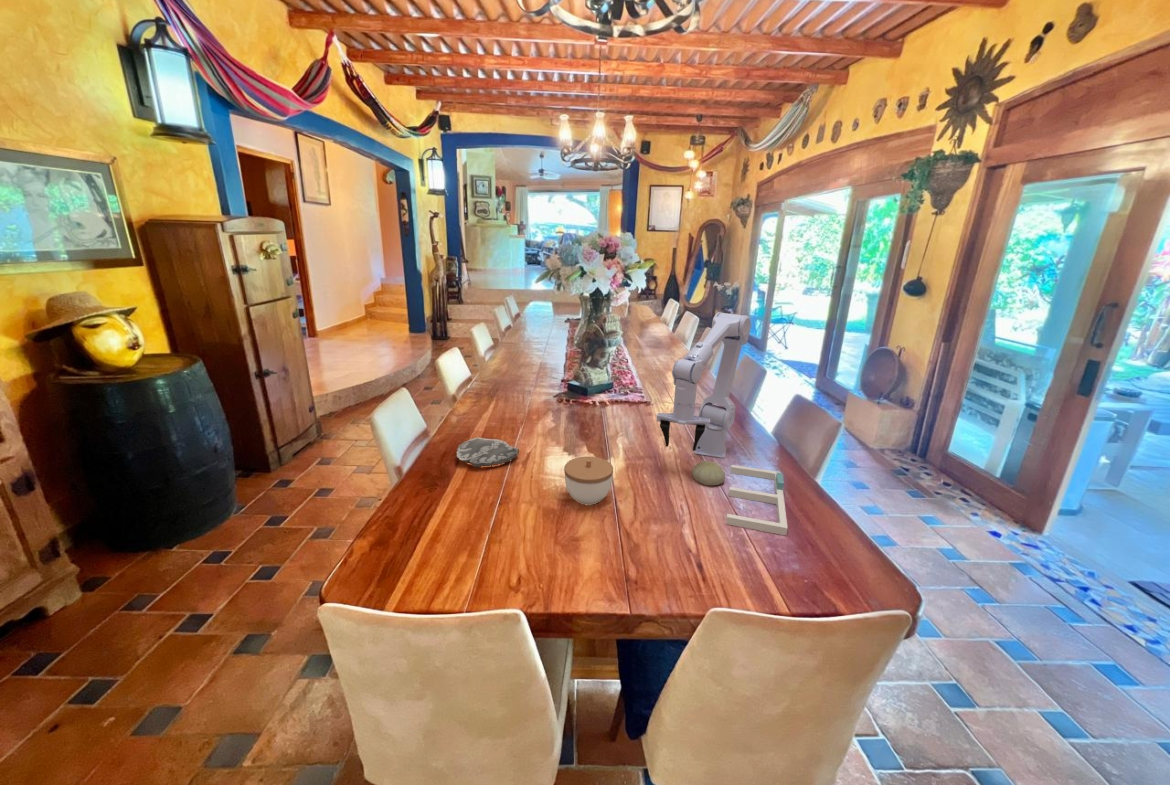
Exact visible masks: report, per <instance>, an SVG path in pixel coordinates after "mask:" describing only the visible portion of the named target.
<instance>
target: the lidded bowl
mask: <svg viewBox="0 0 1170 785" xmlns="http://www.w3.org/2000/svg"><path fill="white" fill-rule="evenodd" d="M563 472H564V482H565V486H566V487H565V488H566V490H567V492H568V494H569V495H570V496H571V498H572V499H573V500H575V501H576V500H577V501H578V502H580V503H581V504H580V505H582V504H587V505H586V506H592V505H591V504H595V505H597V504H596V503H598V502H599V503H601V501H602V500H604V499H605V498H606V497H607V495H608V494H609V492H610V490H611V487H612V485H613V484H612V482H613V475H614V474H613V473H614V466H613V464H612V463H611V462H609V461H608V460H606V459H604V458H601V457H597V456H580V457H575V458H573V459H571V460H569V461H567V462H566V463H565V465H564V469H563ZM578 502H577V503H578ZM599 503H598V504H599Z"/></svg>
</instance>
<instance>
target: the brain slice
mask: <svg viewBox="0 0 1170 785" xmlns="http://www.w3.org/2000/svg"><path fill="white" fill-rule="evenodd" d="M519 454H520V449H519V448H518V447H514V446H511V445H510V444H508V443H507V442H506V441H505V440H501V439H499V438H498V439H497V438H484V437H474V438H471V439H468V440H466V441H463V442H462V443H460V444H458V447H457V448H456V458H458V460H459V461H462V462H464V463H465V462H466V463H465V464H467V463H471V464H472V467H474V466H475V467H474V468H476V467H481V466H490V465H491V466H492V465H498V464H502V463H505V462H506V463H509V462H508V461H510V460H512V459H513V458H514V459H516V457H518V455H519ZM514 459H513V460H514ZM513 460H512V461H513ZM510 462H511V461H510ZM506 463H505V464H506Z"/></svg>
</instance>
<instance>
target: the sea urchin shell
mask: <svg viewBox="0 0 1170 785" xmlns="http://www.w3.org/2000/svg"><path fill="white" fill-rule="evenodd" d="M691 475H692V477H693V479H694V480H695V481H696V482H698V483H700V484H702V485H705V486H718V485H721V484H722V483H723V482H724V481H726V480H725V479H726V473H725V471H724V470H723V468H722V466H721V465H720V464H719V463H717V462H714V461H709V460H703V461H701V462H699V463H697V464H696V465H694V466H693V468H692V471H691Z"/></svg>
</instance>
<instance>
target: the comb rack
mask: <svg viewBox="0 0 1170 785" xmlns="http://www.w3.org/2000/svg"><path fill="white" fill-rule="evenodd" d="M730 474H735V475H741V476H748V477H753V478H758V479H759V478H760V479H765V480H771V481H774V491H775V493H768V492H763V491H757V490H750V489H746V488H738V487H734V486H729V488H728V489H729V490H728V497H732V498H738V499H743V500H748V501H754V502H761V503H767V504H770V505H771V504H772V505H776V509H777V510H776V512H777V522H775V521H769V520H764V519H759V518H754V517H753V518H752V517H747V516H742V515H736V514H731V513H726V522H725V525H728V526H729V525H730V526H733V527H740V528H743V529H750V530H755V531H761V532H764V533H765V532H766V533H770V534H775V535H776V534H777V535H781V536H787V534H788V529H789V528H788V520H787V513H786V504H785V496H784V486H785V481H784V474H783V472H781V471H777V470H776V471H775V470H768V469H761V468H756V467H755V468H754V467H749V466H748V467H747V466H742V465H736V464H731V467H730Z"/></svg>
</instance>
